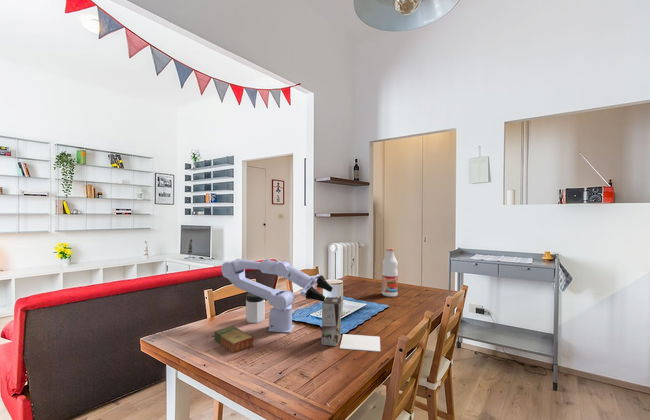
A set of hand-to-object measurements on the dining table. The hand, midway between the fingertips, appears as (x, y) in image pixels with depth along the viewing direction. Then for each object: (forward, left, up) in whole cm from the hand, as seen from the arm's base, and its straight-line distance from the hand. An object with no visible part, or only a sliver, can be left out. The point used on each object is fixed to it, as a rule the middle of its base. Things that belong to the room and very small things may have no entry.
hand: (328, 294), depth 129 cm
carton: (-35, -14, -17) cm, 41 cm away
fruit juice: (+28, +66, -17) cm, 74 cm away
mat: (+14, -5, -17) cm, 22 cm away
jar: (-36, +12, -17) cm, 41 cm away
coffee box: (+2, -5, -17) cm, 18 cm away
